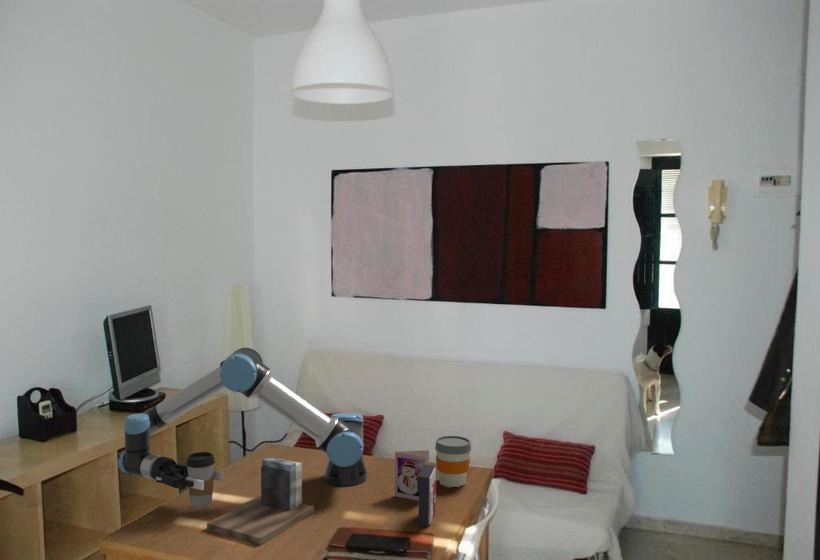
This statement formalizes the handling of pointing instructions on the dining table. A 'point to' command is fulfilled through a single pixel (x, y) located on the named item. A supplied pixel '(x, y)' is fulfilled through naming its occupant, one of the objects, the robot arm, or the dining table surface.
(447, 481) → the reusable coffee cup
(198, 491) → the coffee cup
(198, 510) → the dining table surface
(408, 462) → the greeting card
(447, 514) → the dining table surface
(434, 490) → the dark grey box
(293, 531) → the dining table surface
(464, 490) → the dining table surface
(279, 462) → the block on wooden base
